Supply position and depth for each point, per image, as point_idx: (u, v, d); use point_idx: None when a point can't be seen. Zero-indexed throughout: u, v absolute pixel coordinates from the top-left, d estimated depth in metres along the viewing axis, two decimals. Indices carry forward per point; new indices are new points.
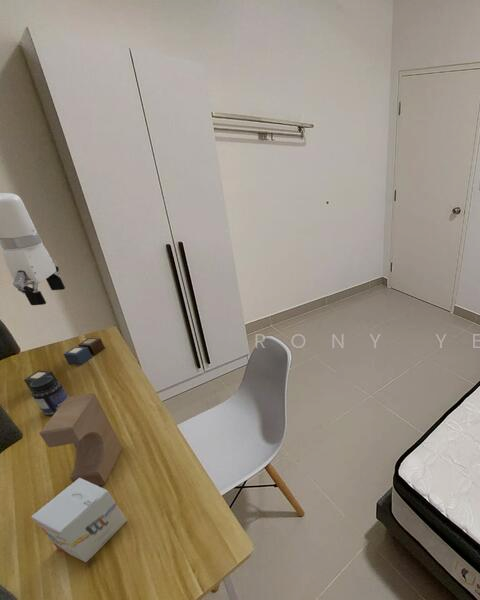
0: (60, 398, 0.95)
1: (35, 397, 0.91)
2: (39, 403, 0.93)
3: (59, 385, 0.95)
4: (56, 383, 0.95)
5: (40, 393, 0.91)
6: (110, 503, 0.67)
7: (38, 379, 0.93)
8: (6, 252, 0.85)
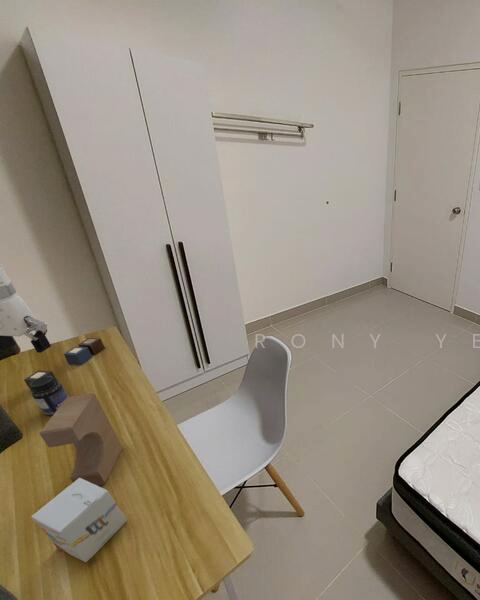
0: (60, 398, 0.95)
1: (35, 397, 0.91)
2: (39, 403, 0.93)
3: (59, 385, 0.95)
4: (56, 383, 0.95)
5: (40, 393, 0.91)
6: (110, 503, 0.67)
7: (38, 379, 0.93)
8: (7, 301, 0.80)
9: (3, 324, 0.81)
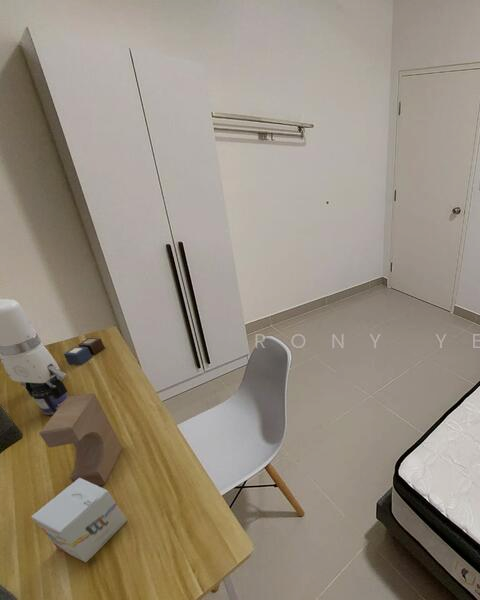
0: (60, 398, 0.95)
1: (35, 397, 0.91)
2: (39, 403, 0.93)
3: None
4: None
5: (40, 393, 0.91)
6: (110, 503, 0.67)
7: None
8: (33, 353, 0.86)
9: (29, 373, 0.87)
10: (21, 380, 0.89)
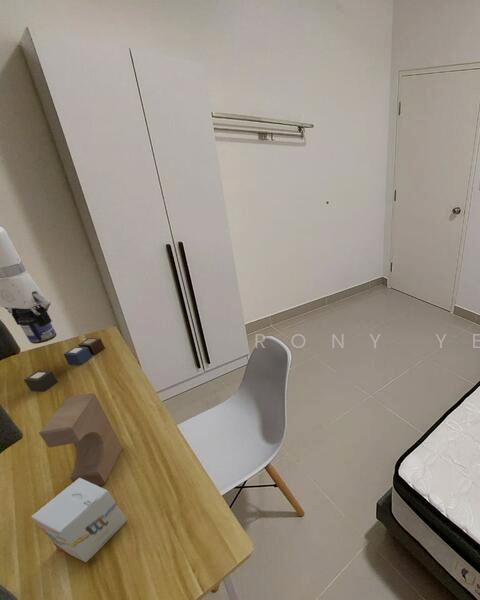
0: (44, 327, 1.01)
1: (21, 323, 0.98)
2: (25, 330, 0.99)
3: None
4: None
5: (25, 320, 0.98)
6: (110, 503, 0.67)
7: None
8: (18, 278, 0.92)
9: (14, 297, 0.94)
10: (7, 306, 0.95)
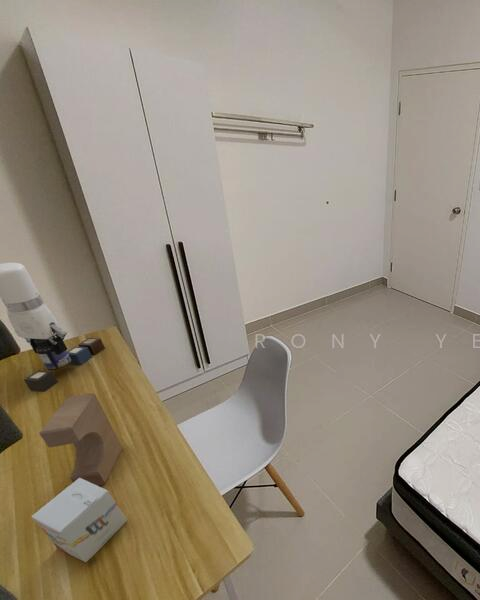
0: (61, 354, 1.07)
1: (39, 352, 1.03)
2: (42, 358, 1.04)
3: None
4: None
5: (43, 349, 1.03)
6: (110, 503, 0.67)
7: None
8: (37, 311, 0.98)
9: (33, 329, 0.99)
10: (26, 336, 1.01)
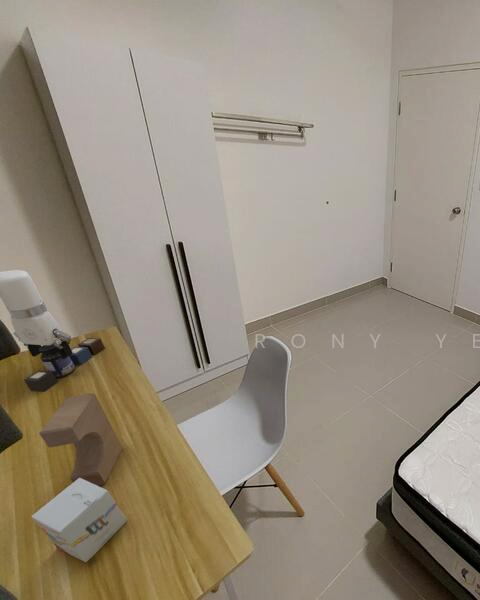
0: (65, 362, 1.08)
1: (43, 360, 1.05)
2: (47, 366, 1.06)
3: None
4: None
5: (48, 357, 1.05)
6: (110, 503, 0.67)
7: (45, 345, 1.06)
8: (40, 317, 0.99)
9: (36, 335, 1.00)
10: (29, 343, 1.02)
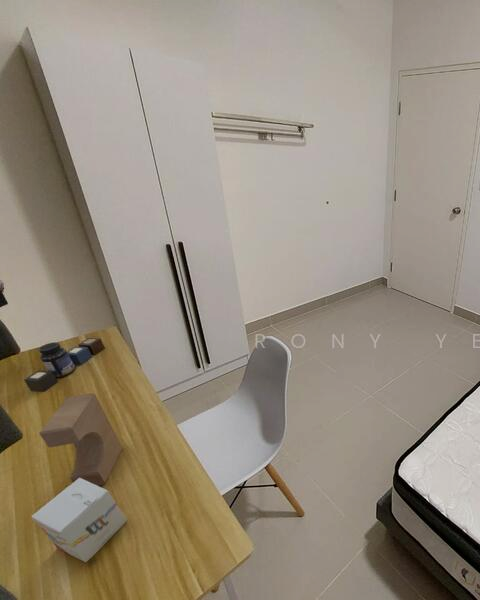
0: (65, 362, 1.08)
1: (43, 360, 1.05)
2: (47, 366, 1.06)
3: (64, 351, 1.08)
4: (61, 349, 1.08)
5: (48, 357, 1.05)
6: (110, 503, 0.67)
7: (46, 345, 1.06)
8: None
9: None
10: None
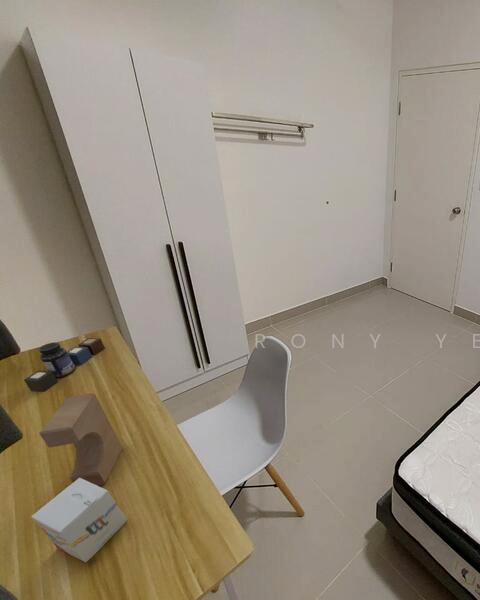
0: (65, 362, 1.08)
1: (43, 360, 1.05)
2: (47, 366, 1.06)
3: (64, 351, 1.08)
4: (61, 349, 1.08)
5: (48, 357, 1.05)
6: (110, 503, 0.67)
7: (45, 345, 1.06)
8: None
9: None
10: None
